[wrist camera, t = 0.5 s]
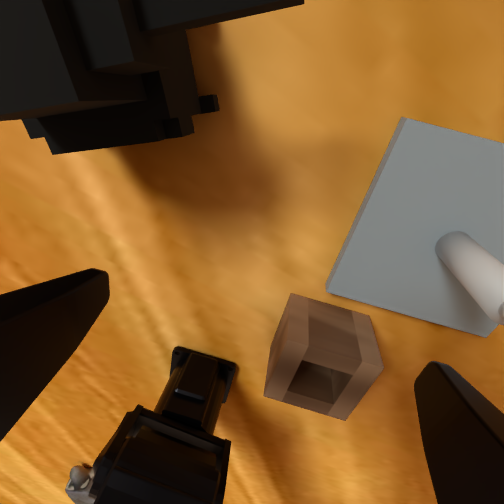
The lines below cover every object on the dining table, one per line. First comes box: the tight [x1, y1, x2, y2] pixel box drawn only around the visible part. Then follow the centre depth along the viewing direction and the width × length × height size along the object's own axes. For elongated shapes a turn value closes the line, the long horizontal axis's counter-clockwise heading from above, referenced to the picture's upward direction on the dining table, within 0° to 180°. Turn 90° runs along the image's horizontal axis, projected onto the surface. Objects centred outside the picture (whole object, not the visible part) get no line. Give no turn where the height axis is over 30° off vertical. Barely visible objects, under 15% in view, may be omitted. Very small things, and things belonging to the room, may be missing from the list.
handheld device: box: [65, 465, 95, 504], centre depth 48 cm, size 10×20×5 cm, turn 18°
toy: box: [0, 0, 304, 155], centre depth 12 cm, size 8×14×10 cm, turn 97°
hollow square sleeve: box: [264, 293, 384, 421], centre depth 22 cm, size 6×6×5 cm
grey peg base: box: [326, 117, 504, 338], centre depth 15 cm, size 12×12×8 cm
